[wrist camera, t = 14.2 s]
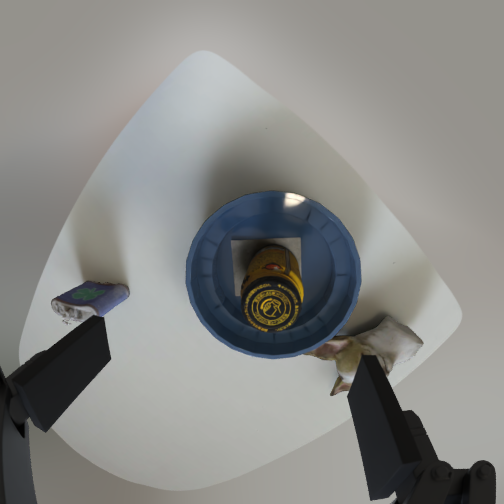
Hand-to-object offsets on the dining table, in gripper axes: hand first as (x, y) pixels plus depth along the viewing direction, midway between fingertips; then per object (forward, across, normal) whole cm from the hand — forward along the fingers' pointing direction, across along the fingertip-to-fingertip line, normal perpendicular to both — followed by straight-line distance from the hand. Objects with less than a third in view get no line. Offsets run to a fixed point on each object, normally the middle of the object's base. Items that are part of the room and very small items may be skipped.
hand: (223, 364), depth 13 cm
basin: (+23, +2, -2) cm, 23 cm away
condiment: (+23, +1, -2) cm, 23 cm away
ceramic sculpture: (+23, +16, -12) cm, 31 cm away
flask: (+23, -23, -9) cm, 34 cm away
